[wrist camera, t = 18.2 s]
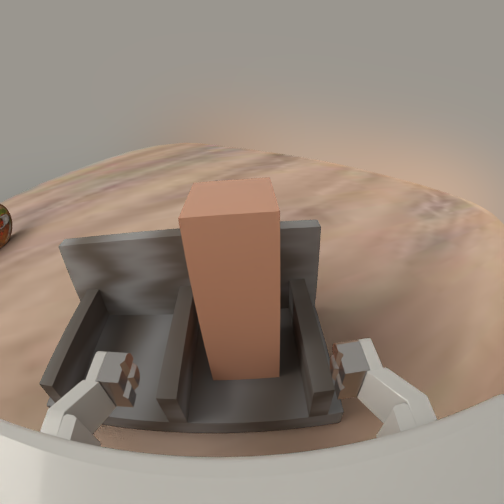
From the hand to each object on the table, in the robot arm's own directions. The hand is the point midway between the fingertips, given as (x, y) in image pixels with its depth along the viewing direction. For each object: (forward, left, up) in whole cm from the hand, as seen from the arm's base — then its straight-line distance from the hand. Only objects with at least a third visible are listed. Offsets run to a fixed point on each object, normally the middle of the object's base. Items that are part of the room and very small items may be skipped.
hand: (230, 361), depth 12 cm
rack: (-4, +7, -9) cm, 13 cm away
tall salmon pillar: (0, +7, -8) cm, 11 cm away
